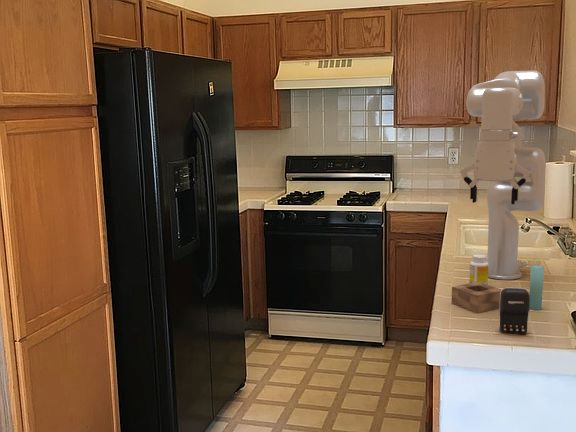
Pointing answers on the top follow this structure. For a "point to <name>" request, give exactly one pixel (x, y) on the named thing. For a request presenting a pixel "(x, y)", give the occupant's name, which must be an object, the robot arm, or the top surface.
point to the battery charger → (514, 310)
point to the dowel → (536, 287)
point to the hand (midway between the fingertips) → (493, 202)
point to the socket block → (476, 297)
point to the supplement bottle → (479, 269)
